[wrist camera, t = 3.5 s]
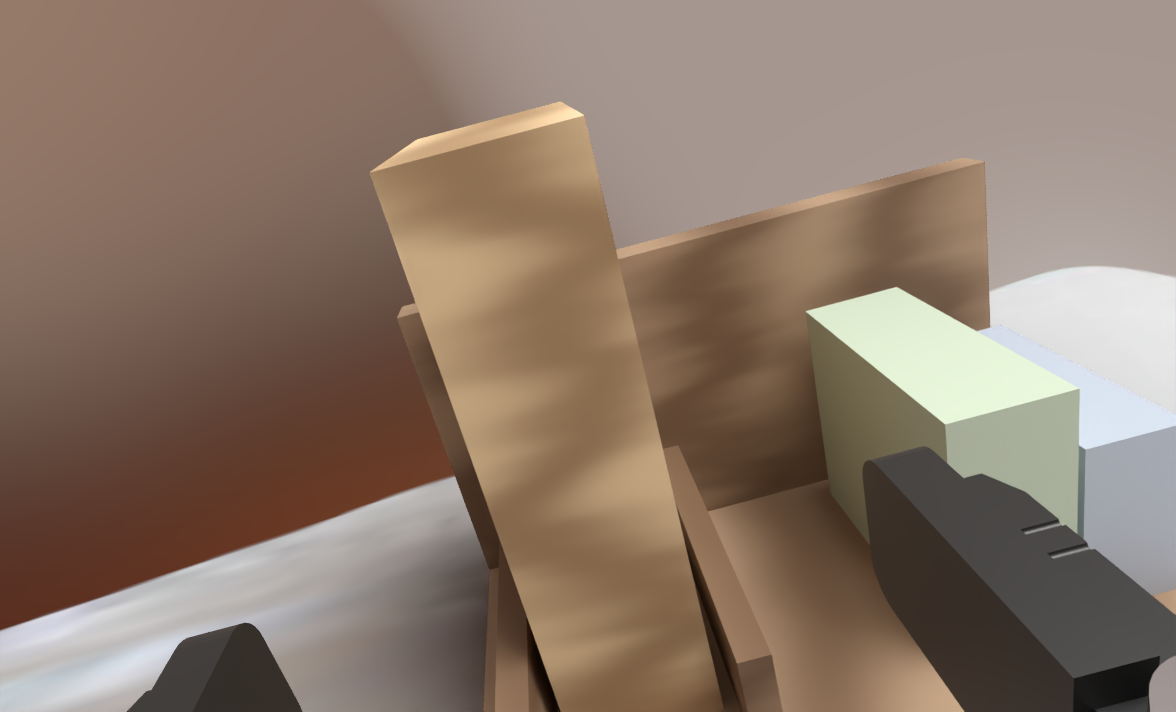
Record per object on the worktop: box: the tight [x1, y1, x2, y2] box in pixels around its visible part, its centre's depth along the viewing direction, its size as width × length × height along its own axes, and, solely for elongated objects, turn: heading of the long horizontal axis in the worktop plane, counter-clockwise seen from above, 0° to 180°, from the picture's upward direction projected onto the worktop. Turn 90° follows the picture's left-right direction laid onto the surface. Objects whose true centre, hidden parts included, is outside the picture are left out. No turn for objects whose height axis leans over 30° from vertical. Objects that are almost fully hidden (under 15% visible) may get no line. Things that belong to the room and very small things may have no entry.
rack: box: [397, 158, 1176, 712], centre depth 20 cm, size 19×12×11 cm, turn 96°
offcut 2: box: [977, 325, 1176, 595], centre depth 21 cm, size 2×7×5 cm, turn 6°
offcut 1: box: [806, 287, 1080, 545], centre depth 21 cm, size 3×8×7 cm, turn 6°
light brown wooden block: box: [370, 102, 724, 712], centre depth 19 cm, size 4×7×15 cm, turn 6°
